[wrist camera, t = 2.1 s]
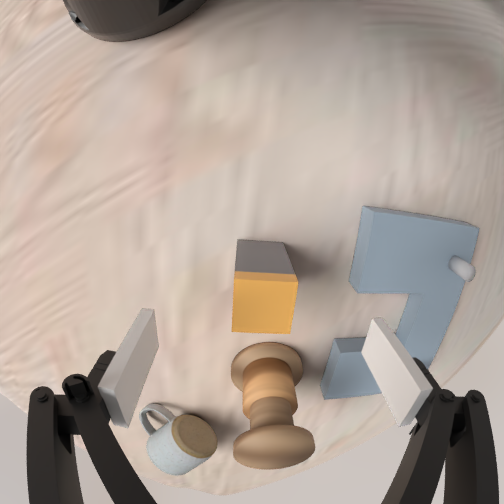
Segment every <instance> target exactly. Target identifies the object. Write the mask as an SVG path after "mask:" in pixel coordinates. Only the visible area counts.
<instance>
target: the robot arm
mask: <svg viewBox="0 0 504 504" xmlns="http://www.w3.org/2000/svg"><path fill="white" fill-rule="evenodd" d="M205 1H206V0H63V2H64V4H65V6H66V8H67V10H68V11H69V15H70V17H71V19H72V20H73V22H74V23H75V24H76V26H78V27H79V28H80V29H81V30H83V31H84V32H86V33H88V34H89V35H91V36H92V37H94V38H97V39H100V40H104V41H114V42H116V41H128V40H134V39H138V38H142V37H146V36H149V35H152V34H155V33H157V32H160V31H162V30H164V29H166V28H168V27H170V26H172V25H174V24H176V23H178V22H179V21H181V20H183V19H184V18H186V17H187V16H189V15H190V14H191V13H193V12H194V11H195V10H197V9H198V8H199V7H200V6H201V5H202V4H203V3H204V2H205ZM158 347H159V344H158V336H157V328H156V320H155V311H154V309H146V308H142V309H141V311H140V313H139V314H138V316H137V318H136V319H135V321H134V323H133V324H132V326H131V328H130V329H129V331H128V333H127V335H126V336H125V338H124V340H123V341H122V343H121V345H120V347H119V348H118V350H117V352H115V351H109V350H107V351H106V352H104V353H103V354H102V355H100V357H99V359H98V360H97V362H96V364H95V365H94V367H93V369H92V370H91V372H90V374H89V375H88V377H86V376H84V375H81V374H73V375H70V376H68V377H67V378H66V379H64V381H63V383H62V388H63V390H64V392H65V395H54V393H53V391H52V390H51V389H50V388H48V387H44V386H42V387H38V388H36V389H34V390H33V392H32V393H31V395H30V402H29V412H28V426H27V479H28V480H27V481H28V492H29V503H30V504H84V503H83V498H82V493H81V488H80V482H79V477H78V471H77V464H76V456H75V447H74V437H73V435H81V437H82V439H83V442H84V444H85V446H86V449H87V451H88V453H89V455H90V457H91V460H92V462H93V464H94V466H95V468H96V470H97V472H98V474H99V476H100V478H101V480H102V482H103V484H104V486H105V488H106V489H107V491H108V493H109V495H110V497H111V498H112V500H113V502H114V503H115V504H157V503H156V502H155V500H154V499H153V497H152V496H151V495H150V493H149V492H148V491H147V489H146V487H145V486H144V485H143V483H142V482H141V480H140V479H139V477H138V475H137V474H136V472H135V471H134V469H133V468H132V466H131V464H130V463H129V461H128V459H127V458H126V456H125V454H124V452H123V451H122V449H121V447H120V445H119V444H118V442H117V440H116V438H115V436H114V434H113V432H112V430H111V428H110V426H109V424H108V423H109V421H110V418H111V420H112V422H113V424H114V425H117V426H121V427H125V428H129V425H130V422H131V419H132V416H133V414H134V411H135V408H136V405H137V402H138V400H139V397H140V394H141V392H142V389H143V386H144V384H145V381H146V378H147V376H148V373H149V370H150V368H151V365H152V363H153V360H154V358H155V355H156V352H157V350H158ZM361 353H362V355H363V357H364V359H365V361H366V363H367V365H368V367H369V369H370V371H371V372H372V374H373V376H374V378H375V380H376V382H377V384H378V386H379V388H380V390H381V392H382V394H383V396H384V398H385V400H386V402H387V404H388V406H389V408H390V410H391V412H392V414H393V416H394V419H395V421H396V423H397V425H398V427H401V426H405V425H408V424H411V422H412V421H413V419H414V418H415V417H416V419H417V421H418V422H417V423H416V425H415V426H414V427H413V429H412V430H411V432H410V433H409V434H411V433H412V432H413V433H412V435H411V438H410V441H409V444H408V447H407V449H406V451H405V454H404V456H403V459H402V461H401V464H400V466H399V468H398V471H397V473H396V475H395V477H394V479H393V482H392V484H391V486H390V488H389V490H388V492H387V494H386V496H385V498H384V500H383V501H382V503H381V504H431V502H432V499H433V497H434V494H435V491H436V488H437V485H438V482H439V478H440V475H441V472H442V468H443V465H444V461H445V490H444V503H443V504H499V487H498V473H497V462H496V454H495V447H494V440H493V434H492V429H491V424H490V419H489V415H488V410H487V406H486V401H485V399H484V396H483V395H482V394H481V392H479V391H477V390H470V391H468V393H467V394H466V396H465V397H455V395H454V394H453V393H452V392H451V391H449V390H446V389H441V388H440V386H439V385H438V383H437V382H436V381H435V379H434V378H433V376H432V375H431V374H430V372H429V371H428V369H426V367H425V365H424V364H423V362H422V361H420V360H419V359H418V358H416V357H413V358H412V357H411V356H410V354H409V353H408V351H407V350H406V349H405V347H404V346H403V345H402V343H401V342H400V340H399V339H398V338H397V336H396V335H395V334H394V332H393V331H392V330H391V328H390V327H389V326H388V324H387V323H386V322H385V320H384V319H383V318H372V321H371V324H370V327H369V331H368V334H367V337H366V340H365V343H364V346H363V349H362V352H361Z"/></svg>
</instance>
